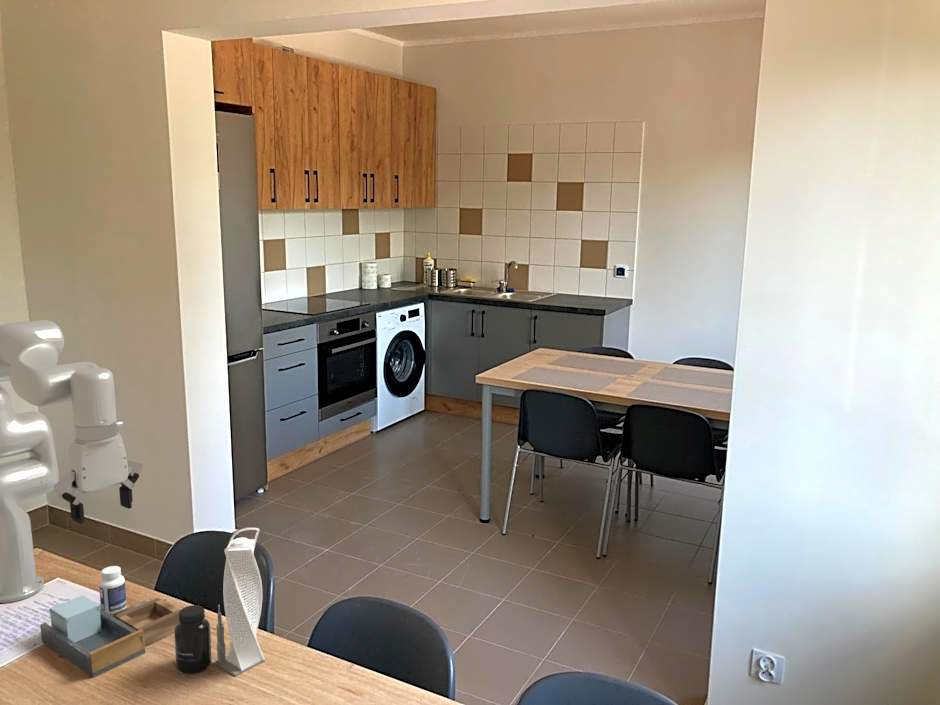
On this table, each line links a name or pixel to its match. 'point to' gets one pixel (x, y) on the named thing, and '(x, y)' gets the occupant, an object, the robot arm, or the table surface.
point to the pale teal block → (76, 618)
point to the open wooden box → (151, 619)
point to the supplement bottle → (192, 640)
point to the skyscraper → (240, 607)
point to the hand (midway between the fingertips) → (103, 514)
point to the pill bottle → (112, 590)
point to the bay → (98, 645)
